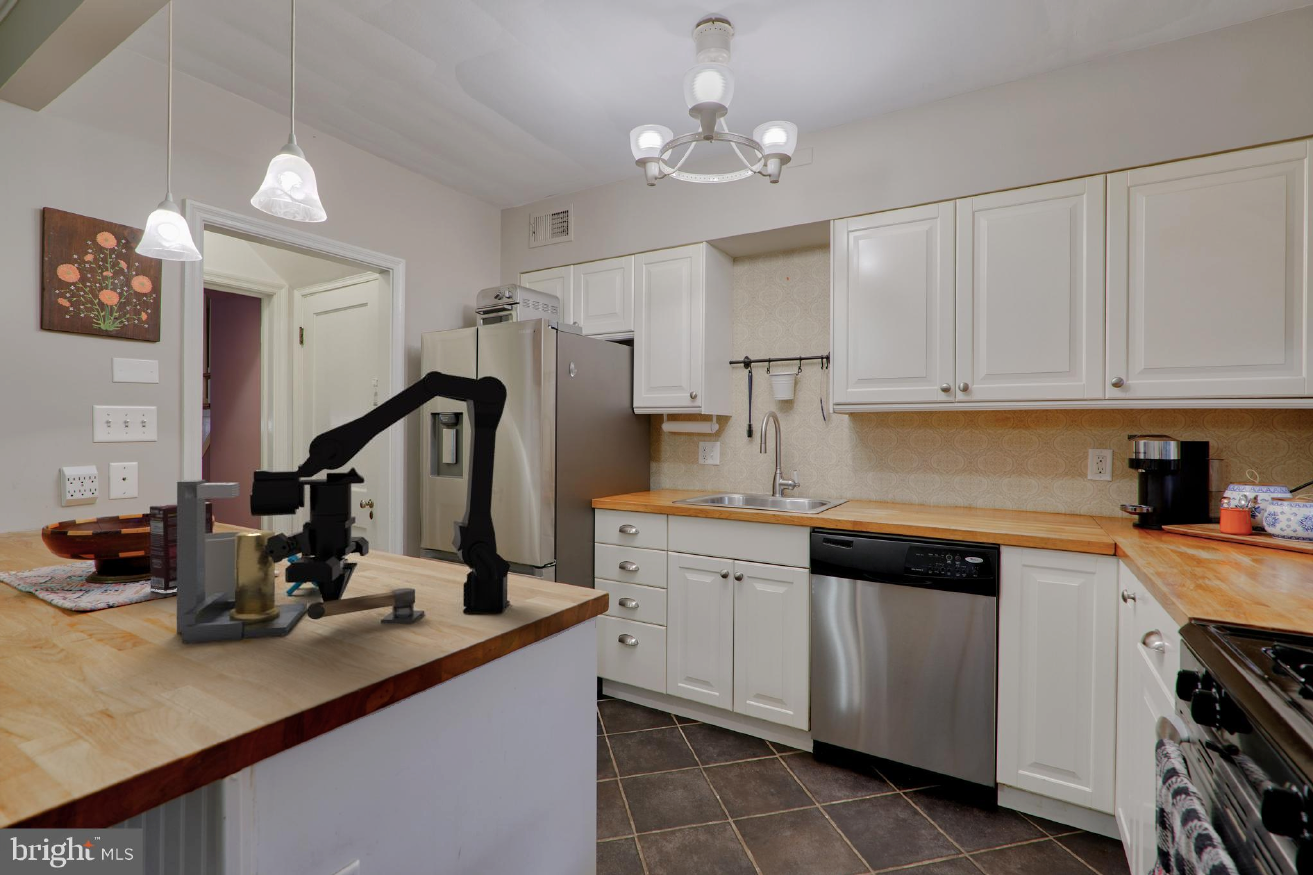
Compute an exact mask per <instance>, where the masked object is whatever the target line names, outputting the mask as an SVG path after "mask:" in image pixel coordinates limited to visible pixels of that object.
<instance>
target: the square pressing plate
mask: <svg viewBox="0 0 1313 875" xmlns="http://www.w3.org/2000/svg"><path fill="white" fill-rule="evenodd" d="M391 607H392V608H391V609H392V610H391V612H390V613H388V614H386V615H385V616H383V618H381V619H380V624H398V625H399V624H400V625H401V624H403V625H404V624H406V625H411V624H414V623H415V622H417V621H418V620H419V619H420V618H422V617H423V616H424V615H425V610H414V607H415V603H414V604H412V605H409V606H401V607H398V606H391Z"/></svg>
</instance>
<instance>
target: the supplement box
mask: <svg viewBox="0 0 1313 875" xmlns="http://www.w3.org/2000/svg"><path fill="white" fill-rule="evenodd" d="M213 518H214V517H213V502H210V501H206V508H205V534H209V533H214V530H213V524H214V523H213V522H214V521H213ZM149 551H150V553H149V554H150V555H149V559H150V567H149V568H150V570H149V571H150V572H149V573H150V578H149V579H150V582H149V583H150V590H151V589H155V590H156V589H157V590H164V591H167V590H174V589H176V588H177V503H171V504H161V505H151V506H149Z"/></svg>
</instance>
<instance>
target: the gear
mask: <svg viewBox="0 0 1313 875" xmlns="http://www.w3.org/2000/svg"><path fill="white" fill-rule="evenodd" d="M299 558H300V556H298V554H297V555H294V556H291V557H288V558H286V561H287V562H288V563H289V564H291V563H292V562H294V561H296V560H297V559H299ZM307 583H308V582H304V583H293V585H291V586H290V587H289V588H288V589H287V590H286V591H285V593H286V594H287V595H288V596H291V595H293V593H295V592H296V591H297V590H298V589H299V588H300V587H301V586H303V585H304V584H307ZM310 583H311V585H313V586H314V587H315V588H318V586H317V584H316V583H315V582H310Z"/></svg>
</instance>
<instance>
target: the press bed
mask: <svg viewBox="0 0 1313 875" xmlns="http://www.w3.org/2000/svg"><path fill="white" fill-rule="evenodd" d="M239 496H240V482H207V481H206V479H185V480H180V481H177V482H176V504H177V592H176V634H180V633H181V635H182V636H181V638H182V641H181V642H182V643H183V644H198V643H212V642H225V641H238V640H243V639H252V638H265V637H278V636H279V637H280V636H286V635H287V634H288V633H289V632H290V631H291V630H292V629H293V627H294V626H295V625H296V624H297V622H299V620H300V619H301V618H302V617H303V616H304V614H305V613H307V608H308V602H301V603H300V602H298V603H297V602H296V603H284V604H282V603H281V604H280V603H279V604H278V605H279V606H280V615H279V616H278V617H276V618H274V619H271V620H267V621H263V622H257V623H249V624H245V621H229V612H230V611H231V610H233V609H235V599H229V600H228V591H217V592H215V593H214V594H212V595H211V596H209V597H208V598H206V599H205V508H206V502H207V501H206V499H233V498H235V497H239Z"/></svg>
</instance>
